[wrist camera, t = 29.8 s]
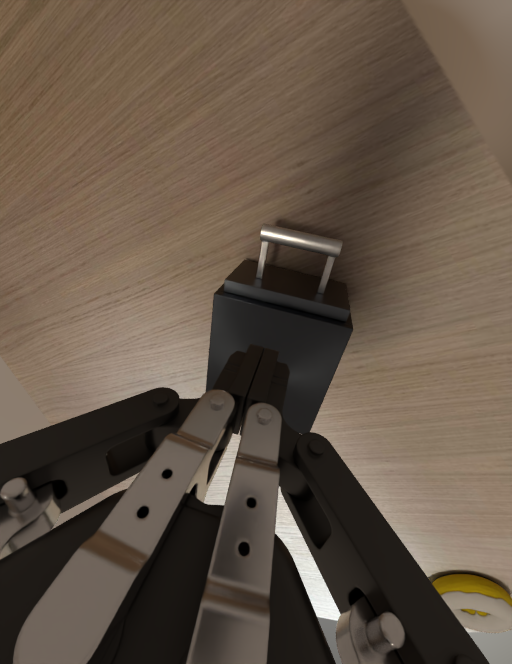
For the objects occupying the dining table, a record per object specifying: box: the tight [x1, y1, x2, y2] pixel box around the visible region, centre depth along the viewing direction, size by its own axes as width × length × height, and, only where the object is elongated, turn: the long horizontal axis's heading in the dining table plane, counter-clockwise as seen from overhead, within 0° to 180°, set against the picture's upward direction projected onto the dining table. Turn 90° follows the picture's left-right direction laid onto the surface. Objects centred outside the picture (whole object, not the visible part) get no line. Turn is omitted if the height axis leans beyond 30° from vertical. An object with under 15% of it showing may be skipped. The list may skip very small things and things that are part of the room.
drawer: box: [224, 224, 350, 322], centre depth 29 cm, size 18×11×7 cm, turn 171°
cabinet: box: [206, 284, 353, 434], centre depth 31 cm, size 15×13×9 cm
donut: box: [432, 574, 512, 633], centre depth 52 cm, size 14×14×5 cm
